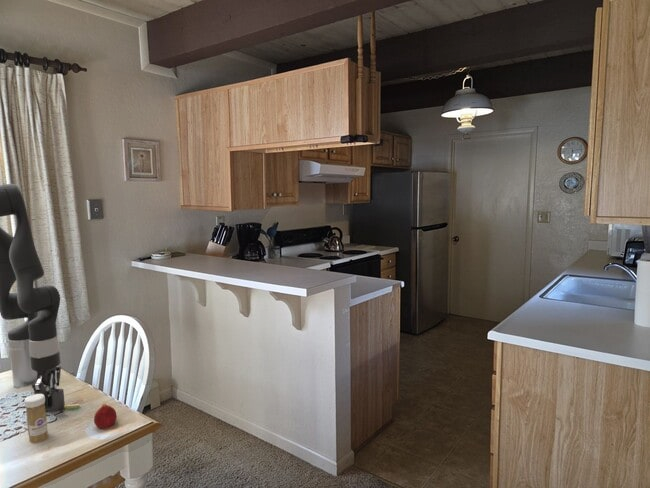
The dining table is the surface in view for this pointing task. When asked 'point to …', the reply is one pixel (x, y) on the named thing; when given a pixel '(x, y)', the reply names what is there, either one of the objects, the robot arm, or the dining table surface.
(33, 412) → the sprinkles bottle
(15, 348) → the robot arm
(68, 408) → the tuner board
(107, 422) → the onion
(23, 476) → the dining table surface
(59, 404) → the peg knob
